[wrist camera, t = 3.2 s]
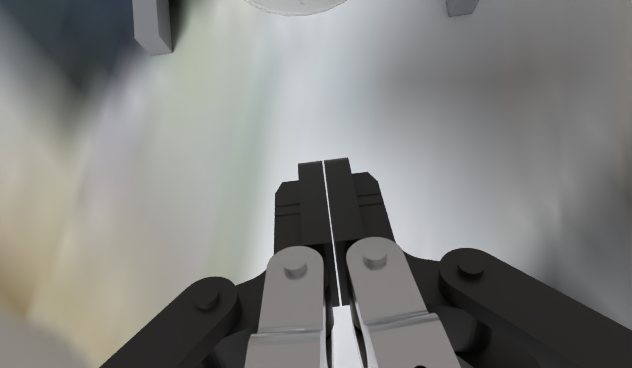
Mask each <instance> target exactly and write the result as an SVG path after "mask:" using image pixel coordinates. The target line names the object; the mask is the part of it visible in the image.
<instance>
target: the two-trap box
mask: <svg viewBox="0 0 632 368" xmlns="http://www.w3.org/2000/svg"><path fill="white" fill-rule="evenodd" d="M478 1H479V0H446V4H447V9H448V14H449V17H450V16H458V15H465V14H471V13H472V12H473V10H474V8H475V6H476V4H477V3H478ZM133 16H134V33H135V39H136V40H137V41H138V43H139V44H140V45H141V46H142V47H143V48H144V49H145V50H146V51H147V53H148V54H149V55H150V56H154V55H162V54H169V53H172V41H171V27H170V14H169V0H133Z"/></svg>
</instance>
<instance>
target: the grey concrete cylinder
mask: <svg viewBox="0 0 632 368" xmlns="http://www.w3.org/2000/svg"><path fill="white" fill-rule="evenodd" d="M245 1H246V2H248V3H249V4H251V5H253V6H255V7H257V8H260V9H262V10H264V11H267V12H270V13H275V14H280V15H285V16H305V15H311V14H315V13H319V12H324V11H327V10H329V9H331V8H333V7H335V6H338V5H340V4H342V3H344V2H345V1H346V0H245Z"/></svg>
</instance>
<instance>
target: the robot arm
mask: <svg viewBox="0 0 632 368" xmlns="http://www.w3.org/2000/svg"><path fill="white" fill-rule="evenodd" d="M324 165H325V174H326V182H327V191H328V200H329V208H330V217H331V224H332V232H333V240H334V247H335V255H336V262H337V270H338V278H339V285H340V293H341V300H342V306H344V305H350V309H351V316H352V325H353V333H354V337H355V342H356V346H357V350H358V354H359V358H360V362H361V367H362V368H632V330H630V329H628V328H626V327H624V326H622V325H620V324H619V323H617V322H615V321H613V320H611V319H609V318H607V317H606V316H604V315H602V314H600V313H598V312H596V311H594V310H592V309H591V308H589V307H587V306H585V305H583V304H581V303H579V302H578V301H576V300H574V299H572V298H570V297H568V296H566V295H565V294H563V293H561V292H559V291H557V290H555V289H553V288H551V287H550V286H548V285H546V284H544V283H542V282H540V281H538V280H537V279H535V278H533V277H531V276H529V275H527V274H525V273H523V272H522V271H520V270H518V269H516V268H514V267H512V266H510V265H509V264H507V263H505V262H503V261H501V260H499V259H497V258H495V257H494V256H492V255H490V254H488V253H486V252H484V251H481V250H478V249H473V248H460V249H455V250H452V251H450V252H448V253H447V254H445V255H444V256H443V257H442V259H441V261H433V260H426V259H420V258H417V257H413V256H411V255H409V254H407V253H406V252H404V251H403V250H402V249H401V248H400V247H399V245H397V244H396V242H395V239H394V236H393V233H392V229H391V226H390V222H389V219H388V215H387V212H386V208H385V205H384V201H383V198H382V195H381V191H380V188H379V184H378V181H377V180H376V179H375V178H374V177H373V176H371V175H370V174H369V173H368V172H363V173H355V174H352V173H351V169H350V164H349V159H348V158H340V159H332V160H324ZM298 175H299V180H297V181H289V182H282V184H281V185H280V187H279V189H278V190H277V192H276V193H275V227H274V256H273V257H272V258H271V259H270V260H269V262H268V265H267V269H266V270H265V271H264V272H263V273H262V274H260V275H259V276H257V277H256V278H254V279H251V280H249V281H246V282H244V283H241V284H239V285H236V286H235V285H234V284H233V283H232V282H231V281H230V280H228V279H226V278H223V277H208V278H204V279H201V280H198V281H196V282H195V283H193V284H191V285H190V286H189V287H188V288H186V289H185V290H184V291H183V292H182V293H181V294H180V295H179V296H178V297H176V298H175V299H174V300H173V301H172V302H171V303H170V304H169V305H168V306H167V307H165V308H164V309H163V310H162V311H161V312H160V313H159V314H158V315H157V316H156V317H154V318H153V319H152V320H151V321H150V322H149V323H148V324H147V325H146V326H145V327H143V328H142V329H141V330H140V331H139V332H138V333H137V334H136V335H135V336H134V337H132V338H131V339H130V340H129V341H128V342H127V343H126V344H125V345H124V346H123V347H121V348H120V349H119V350H118V351H117V352H116V353H115V354H114V355H113V356H112V357H110V358H109V359H108V360H107V361H106V362H105V363H104V364H103V365H102V366H101V367H99V368H334V359H333V330H332V329H333V325H334V317H333V308H332V307H337V306H340V304H339V296H338V287H337V279H336V270H335V261H334V253H333V244H332V236H331V228H330V220H329V212H328V205H327V197H326V189H325V181H324V173H323V165H322V161H316V162H308V163H299V164H298Z"/></svg>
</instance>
